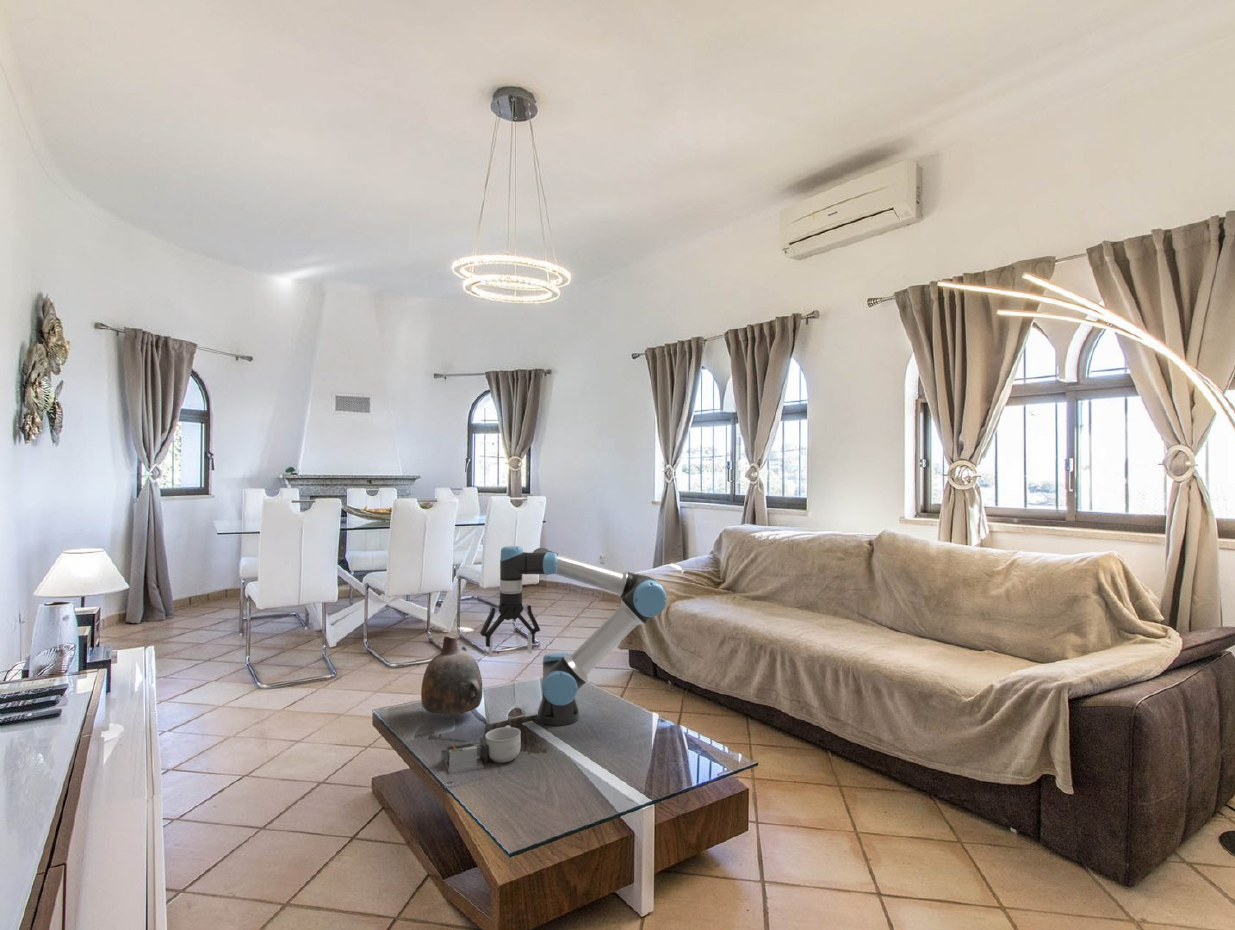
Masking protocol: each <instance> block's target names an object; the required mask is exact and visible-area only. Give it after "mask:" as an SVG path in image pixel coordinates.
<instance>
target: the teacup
mask: <svg viewBox="0 0 1235 930" xmlns="http://www.w3.org/2000/svg"><path fill="white" fill-rule="evenodd" d="M521 734H522V733H521V729H520V728H518V727H517V728H516V727H511V725H505V726H504V727H502V726H501V727H497V728H494V729H491V730H489V731H488V732H486V733H485V735H484V737H485V738H484V739H485V742H486V744H487V745H488V759H490V760H492V761H493V762H495V763H498V764H499V763H501V764H502V763H508V762H509V763H510V762H511V761H513V760H514V759H515V758H516V757H517V756H518V755H519V754H520V751H521V747H522V745H521V744H522V740H521Z"/></svg>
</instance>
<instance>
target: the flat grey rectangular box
mask: <svg viewBox="0 0 1235 930" xmlns="http://www.w3.org/2000/svg"><path fill="white" fill-rule="evenodd" d="M452 745H455V747H456V751H454V749H452ZM471 746H472V747H471ZM476 746H477V745H475V742H474V740H471V741H465V742H464V741H463V742H455V743H451V744H446V750H449V760H445V761H444V765H445V766H446V769H447V772H448V774H456V773H462V772H469V771H475V770H481V769H484V763H483V761H482V759H481V757H480V755H479V756H477V747H476ZM464 747H465V748H464ZM450 749H451V750H450Z"/></svg>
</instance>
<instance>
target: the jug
mask: <svg viewBox="0 0 1235 930" xmlns="http://www.w3.org/2000/svg"><path fill="white" fill-rule="evenodd" d="M457 640H458V638H457V636H454V637H453V636H450V635H445V636H444V638H443V640H442V641H443V642H442V649H441V651H440V653H438V654H436V655H435V656H433V658H432V659H431V660H430V661H429V663H428V664H427V666H426V668H425V671H424V673H423V678H422V683H421V691H420V692H421V693H420V695H421V699H420V700H421V705H422V708H423V709H424V710H425V711H426V712H428V713H430V714H434V715H437V716H438V715H439V716H443V717H445V718H448V719H450V720H451V719H454V718H455V717H457V716H459V715H462V714H466V713H468V712H470V711H474V710H475V709H478V707H479V706H480V705H481V702H482V699H483V691H484V690H483V689H484V688H483V680H482V678H483V677H482V675H481V674H482V673H481V670H480V668H479V665H478V663H477V660H476V659H475V658H474V657H473V656H472V655H471V654H470V653H469V652H467V647H466V646H462V647H461V650H460V649H459V646H458V641H457Z"/></svg>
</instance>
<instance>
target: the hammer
mask: <svg viewBox="0 0 1235 930" xmlns="http://www.w3.org/2000/svg"><path fill="white" fill-rule="evenodd" d="M478 740H479V743H478V744H479V745H475V746H476V747H477V756H479V757H480V759H481V761H482V763H483V764H488V762H489V760H488V759H489V756H488V745H487V744H486V739H485V738H484V737H480V738H479V739H478ZM471 747H472V746H471ZM464 748H465V747H464ZM452 749H454V751H456V747H455V745H452ZM450 750H451V749H450ZM440 760H441V762H445V760H449V750H447V749H446V750H441V751H440Z"/></svg>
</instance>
